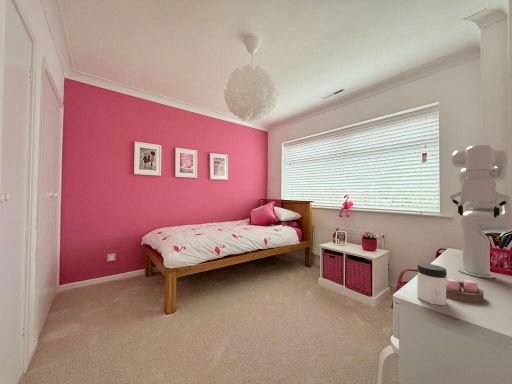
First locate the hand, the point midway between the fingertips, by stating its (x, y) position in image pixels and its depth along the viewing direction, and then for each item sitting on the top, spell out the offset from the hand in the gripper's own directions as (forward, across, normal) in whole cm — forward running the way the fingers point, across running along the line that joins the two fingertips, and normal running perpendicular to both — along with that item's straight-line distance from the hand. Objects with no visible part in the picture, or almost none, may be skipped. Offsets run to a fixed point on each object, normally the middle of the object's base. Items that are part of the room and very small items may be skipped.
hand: (477, 216), depth 87 cm
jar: (+31, +10, +27) cm, 42 cm away
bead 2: (+29, +1, +12) cm, 31 cm away
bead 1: (+29, +6, +16) cm, 34 cm away
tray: (+30, +6, +12) cm, 33 cm away
